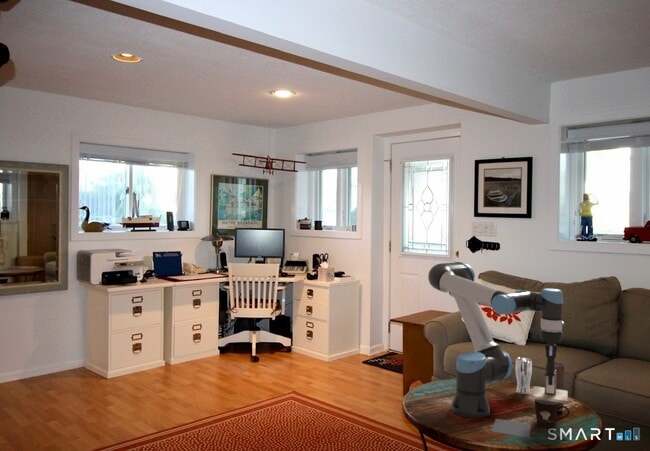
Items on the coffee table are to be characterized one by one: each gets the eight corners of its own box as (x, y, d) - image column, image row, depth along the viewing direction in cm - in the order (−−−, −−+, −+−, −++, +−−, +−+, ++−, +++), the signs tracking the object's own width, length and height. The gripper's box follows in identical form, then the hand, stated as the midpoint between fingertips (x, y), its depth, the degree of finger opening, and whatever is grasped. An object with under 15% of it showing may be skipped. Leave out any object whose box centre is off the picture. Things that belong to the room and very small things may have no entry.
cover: (532, 398, 198) (532, 374, 198) (534, 388, 209) (534, 366, 209) (567, 403, 193) (568, 379, 193) (567, 393, 204) (567, 370, 204)
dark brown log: (565, 414, 214) (566, 365, 213) (546, 413, 215) (547, 364, 214) (560, 407, 221) (561, 360, 220) (542, 406, 223) (543, 359, 222)
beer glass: (532, 391, 241) (533, 358, 240) (529, 395, 235) (530, 362, 235) (517, 388, 245) (517, 356, 244) (513, 392, 239) (514, 360, 238)
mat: (491, 432, 196) (491, 431, 196) (495, 419, 208) (495, 418, 208) (529, 439, 191) (529, 437, 191) (531, 425, 203) (531, 424, 203)
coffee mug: (529, 425, 203) (529, 399, 203) (541, 419, 208) (542, 394, 208) (558, 435, 194) (558, 408, 194) (570, 429, 199) (570, 403, 199)
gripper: (562, 335, 191) (560, 399, 192) (562, 326, 206) (561, 385, 207) (539, 333, 194) (538, 396, 195) (541, 324, 209) (540, 382, 210)
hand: (550, 390), depth 201 cm, fingers closed on cover, 4 cm apart
